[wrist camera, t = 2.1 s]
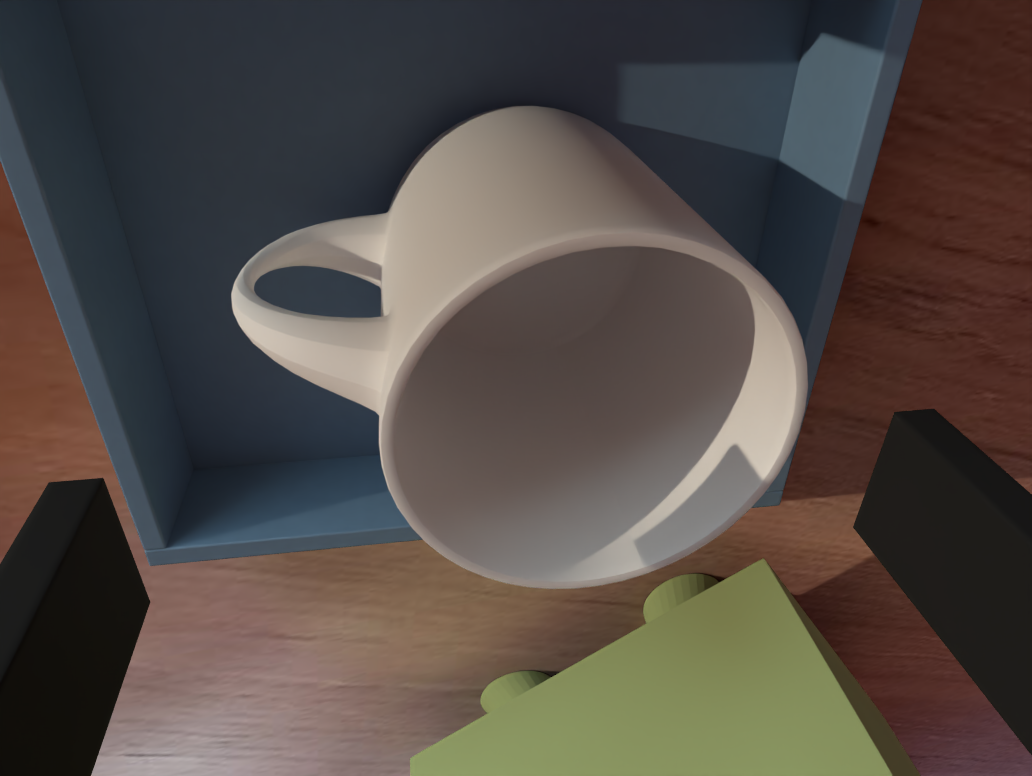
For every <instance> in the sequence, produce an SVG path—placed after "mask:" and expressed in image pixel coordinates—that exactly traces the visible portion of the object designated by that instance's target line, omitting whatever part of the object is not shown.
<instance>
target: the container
mask: <svg viewBox="0 0 1032 776" xmlns="http://www.w3.org/2000/svg"><path fill="white" fill-rule="evenodd" d="M643 614H644V618H645V622H646V624H645V625H643V626H641V627H640V628H638V629H636V630H634V631H632V632H631V633H629V634H627V635H625V636H624V637H622V638H620V639H618V640H616V641H615V642H613V643H611V644H609V645H608V646H606V647H604V648H602V649H600V650H599V651H597V652H595V653H593V654H592V655H590V656H588V657H586V658H585V659H583V660H581V661H579V662H578V663H576V664H574V665H572V666H570V667H569V668H567V669H565V670H563V671H562V672H560V673H558V674H556V675H555V676H553V677H550V676H548V675H546V674H544V673H541V672H536V671H518V672H514V673H510V674H507V675H504V676H502V677H500V678H498V679H496V680H494V681H493V682H491V683H490V684H489V685H488V686H487V687H486V688H485V690H484V691H483V693H482V695H481V706H482V707H483V709H484V710H485V712H486V713H487V714H486V715H484V716H483V717H481V718H479V719H477V720H476V721H474V722H472V723H470V724H469V725H467V726H465V727H463V728H462V729H460V730H458V731H456V732H455V733H453V734H451V735H449V736H448V737H446V738H444V739H442V740H441V741H439V742H437V743H435V744H434V745H432V746H430V747H429V748H427V749H425V750H423V751H422V752H420V753H418V754H417V755H415V756H413V757H412V758H411V759H410V776H921V775H920V774H919V772H918V770H917V769H916V767H915V766H914V764H913V763H912V761H911V759H910V758H909V756H908V755H907V753H906V751H905V750H904V748H903V747H902V745H901V743H900V742H899V740H898V739H897V737H896V736H895V734H894V732H893V731H892V729H891V728H890V726H889V725H888V723H887V721H886V720H885V718H884V717H883V715H882V714H881V712H880V711H879V710H878V708H877V707H876V706H875V704H874V703H873V702H872V700H871V699H870V698H869V696H868V695H867V694H866V692H865V691H864V690H863V688H862V687H861V686H860V684H859V683H858V682H857V680H856V679H855V678H854V676H853V675H852V674H851V673H850V671H849V670H848V669H847V667H846V666H845V665H844V663H843V662H842V661H841V659H840V658H839V657H838V655H837V654H836V653H835V651H834V650H833V649H832V647H831V646H830V645H829V643H828V642H827V641H826V639H825V638H824V637H823V635H822V634H821V633H820V632H819V630H818V629H817V628H816V626H815V625H814V624H813V622H812V621H811V620H810V618H809V617H808V616H807V614H806V613H805V612H804V610H803V609H802V608H801V606H800V605H799V604H798V602H797V601H796V600H795V598H794V597H793V596H792V594H791V593H790V592H789V590H788V589H787V588H786V586H785V585H784V584H783V583H782V581H781V580H780V579H779V577H778V576H777V575H776V573H775V572H774V571H773V569H772V568H771V567H770V566H769V564H768V563H767V562H766V560H765V559H764V558H763V559H761V560H759V561H757V562H756V563H754V564H752V565H750V566H748V567H746V568H745V569H743V570H741V571H739V572H737V573H736V574H734V575H732V576H730V577H728V578H727V579H725V580H723V581H721V582H720V583H719V582H718V581H717V580H716V579H715V578H713V577H711V576H708V575H704V574H686V575H681V576H678V577H675V578H672V579H670V580H668V581H666V582H664V583H662V584H661V585H659V586H658V587H657V588H656V589H654V590H653V591H652V592H651V594H650V595H649V596H648V597H647V599H646V601H645V603H644V607H643Z"/></svg>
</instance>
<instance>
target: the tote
mask: <svg viewBox="0 0 1032 776" xmlns="http://www.w3.org/2000/svg"><path fill="white" fill-rule="evenodd" d="M922 1H923V0H0V161H1V164H2V166H3V169H4V172H5V174H6V177H7V180H8V183H9V185H10V188H11V191H12V193H13V196H14V199H15V201H16V204H17V207H18V210H19V212H20V215H21V218H22V220H23V223H24V226H25V229H26V231H27V234H28V237H29V239H30V242H31V245H32V248H33V250H34V253H35V256H36V258H37V261H38V264H39V266H40V269H41V272H42V275H43V277H44V280H45V283H46V285H47V288H48V291H49V294H50V296H51V299H52V302H53V304H54V307H55V310H56V313H57V315H58V318H59V321H60V323H61V326H62V329H63V332H64V334H65V337H66V340H67V342H68V345H69V348H70V350H71V353H72V356H73V359H74V361H75V364H76V367H77V369H78V372H79V375H80V378H81V380H82V383H83V386H84V388H85V391H86V394H87V397H88V399H89V402H90V405H91V407H92V410H93V413H94V415H95V418H96V421H97V424H98V426H99V429H100V432H101V434H102V437H103V440H104V443H105V445H106V448H107V451H108V453H109V456H110V459H111V462H112V464H113V467H114V470H115V472H116V475H117V478H118V480H119V483H120V486H121V489H122V491H123V494H124V497H125V499H126V502H127V505H128V508H129V510H130V513H131V516H132V518H133V521H134V524H135V527H136V529H137V532H138V535H139V537H140V540H141V543H142V546H143V548H144V549H145V554H146V557H147V560H148V562H149V565H150V566H155V565H165V564H176V563H186V562H196V561H207V560H217V559H227V558H238V557H248V556H258V555H269V554H279V553H290V552H300V551H310V550H321V549H331V548H341V547H352V546H362V545H372V544H383V543H393V542H404V541H414V540H423V539H422V538H421V537H420V536H419V535H418V534H417V533H416V532H415V531H414V530H413V529H412V527H411V526H410V525H409V523H408V522H407V520H406V519H405V518H404V516H403V515H402V513H401V512H400V511H399V509H398V508H397V505H396V503H395V501H394V499H393V497H392V495H391V493H390V491H389V489H388V486H387V483H386V479H385V476H384V473H383V469H382V465H381V457H380V449H379V415H378V414H377V413H376V412H375V411H373V410H371V409H369V408H367V407H365V406H363V405H361V404H359V403H357V402H354V401H352V400H350V399H347V398H345V397H343V396H340V395H338V394H336V393H334V392H331V391H329V390H327V389H325V388H322V387H320V386H318V385H316V384H314V383H312V382H310V381H308V380H306V379H304V378H302V377H300V376H298V375H296V374H294V373H292V372H291V371H289V370H288V369H286V368H285V367H283V366H282V365H280V364H278V363H277V362H275V361H274V360H273V359H271V358H270V357H269V356H268V355H267V354H265V353H264V352H263V351H262V350H261V349H259V348H258V347H257V346H256V345H255V344H253V343H252V341H251V340H250V339H249V338H248V336H247V335H246V334H245V333H244V332H243V330H242V329H241V327H240V326H239V324H238V322H237V320H236V317H235V315H234V313H233V309H232V299H231V293H232V289H233V286H234V282H235V280H236V278H237V277H238V275H239V273H240V271H241V270H242V268H243V267H244V266H245V265H246V264H247V262H248V261H249V260H250V259H251V258H252V257H253V256H255V255H256V254H257V253H258V252H259V251H260V250H262V249H263V248H265V247H266V246H267V245H269V244H270V243H272V242H274V241H276V240H278V239H280V238H281V237H283V236H285V235H287V234H290V233H292V232H295V231H297V230H300V229H303V228H306V227H310V226H313V225H316V224H320V223H324V222H328V221H333V220H338V219H343V218H350V217H357V216H367V215H377V214H383V213H387V212H388V210H389V207H390V204H391V201H392V198H393V196H394V194H395V192H396V190H397V188H398V186H399V184H400V182H401V180H402V178H403V176H404V175H405V173H406V172H407V170H408V169H409V167H410V166H411V164H412V163H413V161H414V160H415V159H416V158H417V157H418V155H419V154H420V153H421V152H422V151H423V150H424V149H425V148H426V146H428V145H429V144H430V143H431V142H432V141H433V140H435V139H436V138H437V137H438V136H439V135H440V134H442V133H443V132H445V131H446V130H448V129H449V128H451V127H453V126H454V125H456V124H457V123H459V122H461V121H464V120H466V119H468V118H470V117H472V116H474V115H477V114H480V113H483V112H487V111H490V110H493V109H499V108H505V107H511V106H539V107H548V108H555V109H559V110H563V111H567V112H570V113H573V114H576V115H578V116H580V117H583V118H585V119H588V120H590V121H591V122H593V123H595V124H596V125H598V126H600V127H601V128H603V129H605V130H606V131H608V132H609V133H611V134H612V135H613V136H614V137H615V138H617V139H618V140H619V141H620V142H621V143H623V144H624V145H625V146H626V147H627V148H629V149H630V150H631V151H632V152H633V153H634V154H635V155H636V156H637V157H638V158H639V159H640V160H641V161H642V162H643V163H645V164H646V165H647V166H648V167H649V168H650V169H651V170H652V171H653V172H654V173H655V174H656V175H657V176H658V177H659V178H660V179H661V180H662V181H664V182H665V183H666V184H667V185H668V186H669V187H670V188H671V189H672V190H673V191H674V192H675V193H676V194H677V195H678V196H679V197H680V198H681V199H683V200H684V201H685V202H686V203H687V204H688V205H689V206H690V207H691V208H692V209H693V210H694V211H695V212H696V213H697V214H698V215H699V216H700V217H702V218H703V219H704V220H705V221H706V222H707V223H708V224H709V225H710V226H711V227H712V228H713V229H714V230H715V231H716V232H717V233H718V234H719V235H721V236H722V237H723V238H724V239H725V240H726V241H727V242H728V243H729V244H730V245H731V246H732V247H733V248H734V249H735V250H736V251H737V252H738V253H740V254H741V255H742V256H743V257H744V258H745V259H746V260H747V261H748V262H749V263H750V264H751V265H752V266H753V267H754V268H755V269H756V270H757V271H759V272H760V273H761V274H762V275H763V276H764V277H765V278H766V279H767V280H768V282H769V283H770V284H771V285H772V286H773V287H774V289H775V290H776V291H777V292H778V293H779V294H780V295H781V297H782V298H783V300H784V302H785V303H786V305H787V307H788V308H789V310H790V312H791V313H792V315H793V317H794V319H795V321H796V324H797V327H798V329H799V332H800V334H801V337H802V340H803V345H804V350H805V355H806V360H807V375H808V390H807V398H806V407H805V412H804V416H805V413H806V409H807V406H808V402H809V399H810V395H811V392H812V388H813V385H814V381H815V378H816V374H817V371H818V367H819V364H820V360H821V357H822V353H823V349H824V346H825V342H826V339H827V335H828V332H829V328H830V325H831V321H832V318H833V314H834V311H835V307H836V304H837V300H838V297H839V293H840V290H841V286H842V283H843V279H844V275H845V272H846V268H847V265H848V261H849V258H850V254H851V251H852V247H853V244H854V240H855V237H856V233H857V230H858V226H859V223H860V219H861V216H862V212H863V209H864V205H865V201H866V198H867V194H868V191H869V187H870V184H871V180H872V177H873V173H874V170H875V166H876V163H877V159H878V156H879V152H880V149H881V145H882V142H883V138H884V135H885V131H886V127H887V124H888V120H889V117H890V113H891V110H892V106H893V103H894V99H895V96H896V92H897V89H898V85H899V82H900V78H901V75H902V71H903V68H904V64H905V61H906V57H907V53H908V50H909V46H910V43H911V39H912V36H913V32H914V29H915V25H916V22H917V18H918V15H919V11H920V8H921V4H922ZM254 291H255V293H256V295H257V296H258V297H260V298H261V299H262V300H264V301H266V302H268V303H270V304H272V305H274V306H277V307H280V308H283V309H286V310H289V311H294V312H298V313H303V314H310V315H319V316H328V317H346V318H372V317H381V288H380V287H379V286H377V285H375V284H373V283H371V282H369V281H367V280H364V279H362V278H359V277H357V276H354V275H351V274H348V273H345V272H341V271H337V270H333V269H329V268H322V267H315V266H291V267H284V268H279V269H275V270H272V271H269V272H267V273H265V274H264V275H262V276H260V277H259V278H258V280H257V281H256V282H255V285H254ZM804 416H803V420H804ZM803 420H802V423H803ZM802 423H801V427H802ZM801 427H800V431H801ZM800 431H799V434H800ZM799 434H798V436H797V438H796V441H795V443H794V446H793V448H792V450H791V453H790V455H789V456H788V458H787V460H786V462H785V463H784V465H783V467H782V469H781V470H780V472H779V474H778V475H777V477H776V478H775V479H774V481H773V482H772V483H771V485H770V486H769V488H768V489H767V490H766V492H765V493H764V494H763V495H762V496H761V497H760V499H759V500H758V501H757V502H756V503H755V504H754V505H753V506H752V507H751V508H756V507H766V506H777V505H779V504H780V502H781V498H782V494H783V489H784V487H785V483H786V480H787V476H788V473H789V469H790V466H791V462H792V459H793V455H794V452H795V448H796V445H797V441H798V438H799Z"/></svg>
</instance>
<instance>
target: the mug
mask: <svg viewBox="0 0 1032 776" xmlns="http://www.w3.org/2000/svg"><path fill="white" fill-rule="evenodd" d="M291 266H315V267H322V268H329V269H333V270H337V271H341V272H345V273H348V274H351V275H354V276H357V277H359V278H362V279H364V280H367V281H369V282H371V283H373V284H375V285H377V286H379V287H380V288H381V317H372V318H346V317H328V316H319V315H310V314H303V313H298V312H294V311H289V310H286V309H283V308H280V307H277V306H274V305H272V304H270V303H268V302H266V301H264V300H262V299H261V298H260V297H258V296H257V295H256V293H255V291H254V285H255V282H256V281H257V280H258V278H259V277H260V276H262V275H264V274H265V273H267V272H269V271H272V270H275V269H279V268H284V267H291ZM231 299H232V309H233V313H234V315H235V317H236V320H237V322H238V324H239V326H240V327H241V329H242V330H243V332H244V333H245V334H246V335H247V336H248V338H249V339H250V340H251V341H252V343H253V344H255V345H256V346H257V347H258V348H259V349H261V350H262V351H263V352H264V353H265V354H267V355H268V356H269V357H270V358H271V359H273V360H274V361H275V362H277V363H278V364H280V365H282V366H283V367H285V368H286V369H288V370H289V371H291V372H292V373H294V374H296V375H298V376H300V377H302V378H304V379H306V380H308V381H310V382H312V383H314V384H316V385H318V386H320V387H322V388H325V389H327V390H329V391H331V392H334V393H336V394H338V395H340V396H343V397H345V398H347V399H350V400H352V401H354V402H357V403H359V404H361V405H363V406H365V407H367V408H369V409H371V410H373V411H375V412H376V413H377V414H378V415H379V449H380V457H381V465H382V469H383V473H384V476H385V479H386V483H387V486H388V489H389V491H390V493H391V495H392V497H393V499H394V501H395V503H396V505H397V508H398V509H399V511H400V512H401V513H402V515H403V516H404V518H405V519H406V520H407V522H408V523H409V525H410V526H411V527H412V529H413V530H414V531H415V532H416V533H417V534H418V535H419V536H420V537H421V538H422V539H423V540H424V541H425V542H426V543H427V544H428V545H429V546H431V547H432V548H433V549H435V550H436V551H437V552H438V553H440V554H441V555H442V556H444V557H445V558H447V559H448V560H450V561H452V562H454V563H455V564H457V565H459V566H461V567H462V568H464V569H467V570H469V571H471V572H474V573H476V574H478V575H481V576H483V577H486V578H490V579H493V580H497V581H500V582H503V583H507V584H513V585H519V586H524V587H531V588H545V589H576V588H584V587H593V586H601V585H606V584H610V583H615V582H620V581H624V580H628V579H631V578H634V577H638V576H641V575H645V574H647V573H650V572H652V571H655V570H658V569H660V568H663V567H665V566H668V565H670V564H672V563H674V562H676V561H678V560H680V559H682V558H684V557H686V556H688V555H690V554H692V553H693V552H695V551H696V550H698V549H700V548H701V547H703V546H705V545H706V544H708V543H709V542H711V541H712V540H714V539H715V538H716V537H718V536H719V535H720V534H722V533H723V532H725V531H726V530H727V529H729V528H730V527H731V526H732V525H733V524H734V523H736V522H737V521H738V520H739V519H740V518H741V517H742V516H743V515H744V514H745V513H747V512H748V511H749V510H750V508H751V507H752V506H753V505H754V504H755V503H756V502H757V501H758V500H759V499H760V497H761V496H762V495H763V494H764V493H765V492H766V490H767V489H768V488H769V486H770V485H771V483H772V482H773V481H774V479H775V478H776V477H777V475H778V474H779V472H780V470H781V469H782V467H783V465H784V463H785V462H786V460H787V458H788V456H789V455H790V453H791V450H792V448H793V446H794V443H795V441H796V438H797V436H798V434H799V431H800V427H801V423H802V420H803V416H804V412H805V407H806V398H807V390H808V375H807V360H806V355H805V350H804V345H803V340H802V337H801V334H800V332H799V329H798V327H797V324H796V321H795V319H794V317H793V315H792V313H791V312H790V310H789V308H788V307H787V305H786V303H785V302H784V300H783V298H782V297H781V295H780V294H779V293H778V292H777V291H776V290H775V289H774V287H773V286H772V285H771V284H770V283H769V282H768V280H767V279H766V278H765V277H764V276H763V275H762V274H761V273H760V272H759V271H757V270H756V269H755V268H754V267H753V266H752V265H751V264H750V263H749V262H748V261H747V260H746V259H745V258H744V257H743V256H742V255H741V254H740V253H738V252H737V251H736V250H735V249H734V248H733V247H732V246H731V245H730V244H729V243H728V242H727V241H726V240H725V239H724V238H723V237H722V236H721V235H719V234H718V233H717V232H716V231H715V230H714V229H713V228H712V227H711V226H710V225H709V224H708V223H707V222H706V221H705V220H704V219H703V218H702V217H700V216H699V215H698V214H697V213H696V212H695V211H694V210H693V209H692V208H691V207H690V206H689V205H688V204H687V203H686V202H685V201H684V200H683V199H681V198H680V197H679V196H678V195H677V194H676V193H675V192H674V191H673V190H672V189H671V188H670V187H669V186H668V185H667V184H666V183H665V182H664V181H662V180H661V179H660V178H659V177H658V176H657V175H656V174H655V173H654V172H653V171H652V170H651V169H650V168H649V167H648V166H647V165H646V164H645V163H643V162H642V161H641V160H640V159H639V158H638V157H637V156H636V155H635V154H634V153H633V152H632V151H631V150H630V149H629V148H627V147H626V146H625V145H624V144H623V143H621V142H620V141H619V140H618V139H617V138H615V137H614V136H613V135H612V134H611V133H609V132H608V131H606V130H605V129H603V128H601V127H600V126H598V125H596V124H595V123H593V122H591V121H590V120H588V119H585V118H583V117H580V116H578V115H576V114H573V113H570V112H567V111H563V110H559V109H555V108H548V107H539V106H511V107H505V108H499V109H493V110H490V111H487V112H483V113H480V114H477V115H474V116H472V117H470V118H468V119H466V120H464V121H461V122H459V123H457V124H456V125H454V126H453V127H451V128H449V129H448V130H446V131H445V132H443V133H442V134H440V135H439V136H438V137H437V138H436V139H435V140H433V141H432V142H431V143H430V144H429V145H428V146H426V148H425V149H424V150H423V151H422V152H421V153H420V154H419V155H418V157H417V158H416V159H415V160H414V161H413V163H412V164H411V166H410V167H409V169H408V170H407V172H406V173H405V175H404V176H403V178H402V180H401V182H400V184H399V186H398V188H397V190H396V192H395V194H394V196H393V198H392V201H391V204H390V207H389V210H388V212H387V213H383V214H377V215H367V216H357V217H350V218H343V219H338V220H333V221H328V222H324V223H320V224H316V225H313V226H310V227H306V228H303V229H300V230H297V231H295V232H292V233H290V234H287V235H285V236H283V237H281V238H280V239H278V240H276V241H274V242H272V243H270V244H269V245H267V246H266V247H265V248H263V249H262V250H260V251H259V252H258V253H257V254H256V255H255V256H253V257H252V258H251V259H250V260H249V261H248V262H247V264H246V265H245V266H244V267H243V268H242V270H241V271H240V273H239V275H238V277H237V278H236V280H235V282H234V286H233V289H232V293H231Z"/></svg>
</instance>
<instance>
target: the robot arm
mask: <svg viewBox="0 0 1032 776" xmlns="http://www.w3.org/2000/svg"><path fill="white" fill-rule="evenodd" d="M853 528H854V529H855V530H856V531H857V533H858V534H859V535H860V537H861V538H862V539H863V540H864V542H865V543H866V544H867V546H868V547H869V548H870V549H871V551H872V552H873V553H874V554H875V556H876V557H877V558H878V560H879V561H880V562H881V563H882V565H883V566H884V567H885V569H886V570H887V571H888V572H889V574H890V575H891V576H892V577H893V579H894V580H895V581H896V583H897V584H898V585H899V586H900V588H901V589H902V590H903V592H904V593H905V594H906V595H907V597H908V598H909V599H910V600H911V602H912V603H913V604H914V606H915V607H916V608H917V609H918V611H919V612H920V613H921V615H922V616H923V617H924V618H925V620H926V621H927V622H928V623H929V625H930V626H931V627H932V629H933V630H934V631H935V632H936V634H937V635H938V636H939V638H940V639H941V640H942V641H943V643H944V644H945V645H946V646H947V648H948V649H949V650H950V652H951V653H952V654H953V655H954V657H955V658H956V659H957V660H958V662H959V663H960V664H961V666H962V667H963V668H964V669H965V671H966V672H967V673H968V675H969V676H970V677H971V678H972V680H973V681H974V682H975V683H976V685H977V686H978V687H979V689H980V690H981V691H982V692H983V694H984V695H985V696H986V698H987V699H988V700H989V701H990V703H991V704H992V705H993V706H994V708H995V709H996V710H997V712H998V713H999V714H1000V715H1001V717H1002V718H1003V719H1004V721H1005V722H1006V723H1007V724H1008V726H1009V727H1010V728H1011V729H1012V731H1013V732H1014V733H1015V735H1016V736H1017V737H1018V738H1019V740H1020V741H1021V742H1022V744H1023V745H1024V746H1025V747H1026V749H1027V750H1028V751H1029V752H1030V754H1031V755H1032V494H1030V493H1029V492H1028V491H1027V490H1026V489H1025V488H1024V487H1022V486H1021V485H1020V484H1019V483H1018V482H1017V481H1016V480H1014V479H1013V478H1012V477H1011V476H1010V475H1009V474H1008V473H1006V472H1005V471H1004V470H1003V469H1002V468H1001V467H1000V466H998V465H997V464H996V463H995V462H994V461H993V460H992V459H991V458H989V457H988V456H987V455H986V454H985V453H984V452H983V451H981V450H980V449H979V448H978V447H977V446H976V445H975V444H973V443H972V442H971V441H970V440H969V439H968V438H967V437H965V436H964V435H963V434H962V433H961V432H960V431H959V430H957V429H956V428H955V427H954V426H953V425H952V424H951V423H949V422H948V421H947V420H946V419H945V418H944V417H943V416H941V415H940V414H939V413H938V412H937V411H936V410H935V409H925V410H913V411H901V412H894V415H893V418H892V420H891V423H890V426H889V429H888V432H887V434H886V437H885V440H884V443H883V445H882V448H881V451H880V454H879V457H878V459H877V462H876V465H875V468H874V470H873V473H872V476H871V479H870V482H869V484H868V487H867V490H866V493H865V495H864V498H863V501H862V504H861V507H860V509H859V512H858V515H857V518H856V521H855V523H854V526H853ZM149 604H150V600H149V597H148V595H147V592H146V590H145V587H144V584H143V582H142V579H141V576H140V574H139V571H138V568H137V566H136V563H135V561H134V558H133V555H132V553H131V550H130V547H129V545H128V542H127V539H126V537H125V534H124V531H123V529H122V526H121V524H120V521H119V518H118V516H117V513H116V510H115V508H114V505H113V502H112V500H111V497H110V495H109V492H108V489H107V487H106V484H105V481H104V479H103V478H97V479H85V480H73V481H61V482H49V483H48V485H47V487H46V488H45V490H44V492H43V493H42V495H41V497H40V498H39V500H38V502H37V503H36V505H35V507H34V508H33V510H32V512H31V513H30V515H29V517H28V518H27V520H26V522H25V523H24V525H23V527H22V529H21V530H20V532H19V534H18V535H17V537H16V539H15V540H14V542H13V544H12V545H11V547H10V549H9V550H8V552H7V554H6V555H5V557H4V559H3V560H2V562H1V564H0V776H91V774H92V771H93V768H94V765H95V762H96V759H97V756H98V754H99V751H100V748H101V745H102V742H103V739H104V736H105V733H106V730H107V727H108V724H109V721H110V718H111V715H112V713H113V710H114V707H115V704H116V701H117V698H118V695H119V692H120V689H121V686H122V683H123V680H124V677H125V674H126V672H127V669H128V666H129V663H130V660H131V657H132V654H133V651H134V648H135V645H136V642H137V639H138V636H139V633H140V631H141V628H142V625H143V622H144V619H145V616H146V613H147V610H148V607H149Z"/></svg>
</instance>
